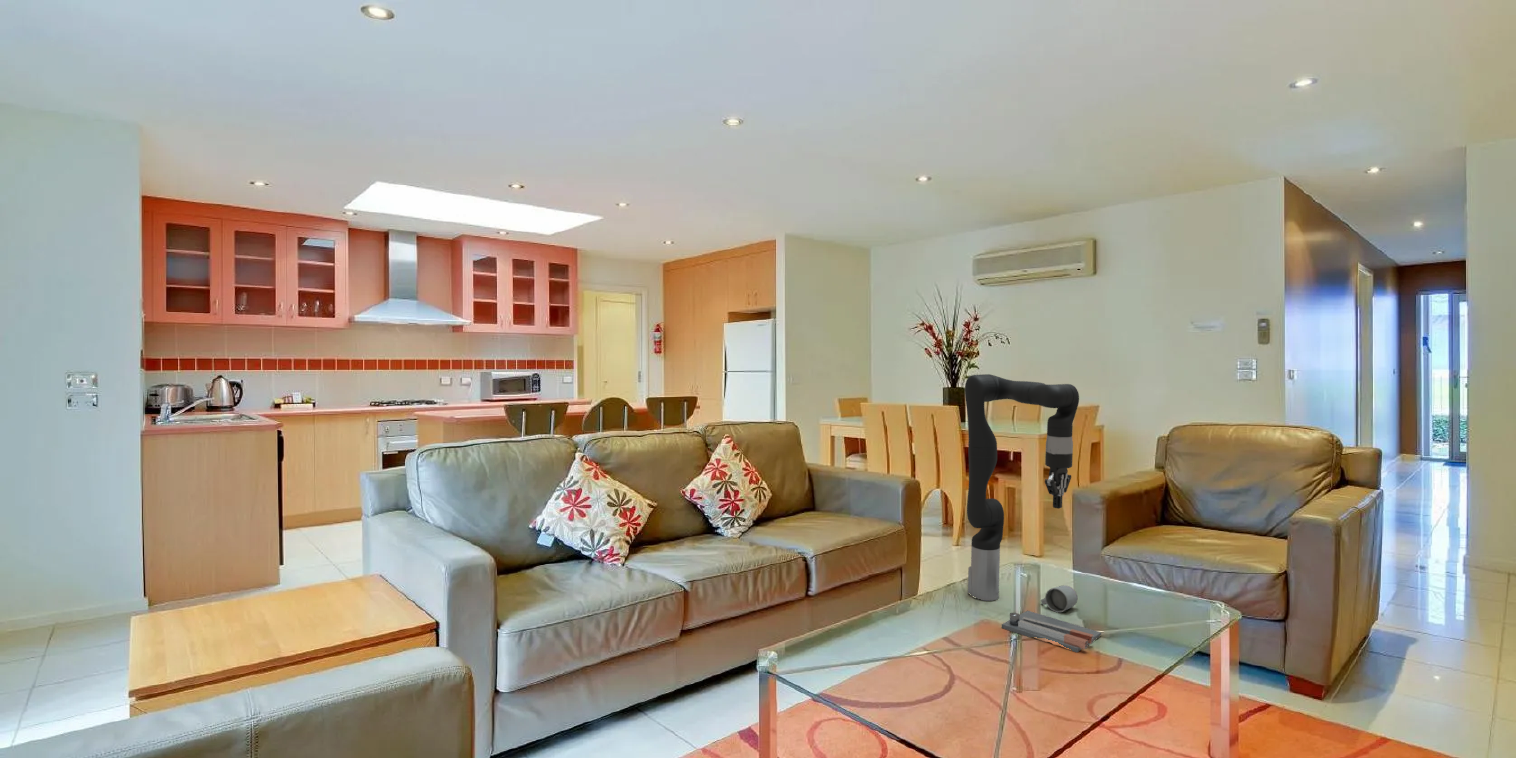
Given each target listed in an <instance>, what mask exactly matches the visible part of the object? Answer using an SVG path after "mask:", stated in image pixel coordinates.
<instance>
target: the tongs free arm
mask: <svg viewBox="0 0 1516 758" xmlns="http://www.w3.org/2000/svg"><path fill="white" fill-rule="evenodd" d="M1022 620H1023V621H1026V622H1029V623H1032V624H1036V625H1039V626H1042V627H1045V628H1049V629H1052V630H1055V631H1058V632H1061V633H1065V634H1069V635H1073V636H1076V637H1079V638H1082V639H1085V640H1088V643H1090V644H1089V645H1092V644H1093V643H1094V642H1093V637H1094V635H1093V634H1089V633H1085V632H1081V631H1077V630H1074V629H1069V628H1065V627H1061V626H1057V625H1053V624H1049V623H1046V622H1042V621H1038V620H1034V619H1030V618H1027V617H1023V618H1022Z"/></svg>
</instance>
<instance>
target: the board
mask: <svg viewBox="0 0 1516 758" xmlns="http://www.w3.org/2000/svg"><path fill="white" fill-rule="evenodd" d="M1019 615H1020V618H1019V621H1020V620H1022V618H1023V617H1027V618H1030V619H1034V620H1038V621H1042V622H1046V623H1049V624H1053V625H1057V626H1061V627H1065V628H1069V629H1074V630H1077V631H1081V632H1085V633H1089V634H1093V635H1094V637H1093V641H1094V640H1095V639H1096V638H1098V637H1099V636H1100V635H1101V636H1102V632H1101V631H1098V630H1094V629H1090V628H1087V627H1084V626H1080V625H1078V624H1074V623H1070V622H1067V621H1065V620H1061V619H1057V618H1053V617H1051V616H1047V615H1044V614H1041V613H1038V612H1037V613H1036V612H1035V611H1034V612H1033V611H1030V610H1026V611H1024V612H1022V613H1019ZM1001 629H1004V630H1007V631H1010V632H1012V633H1015V634H1016V633H1017V634H1019V635H1022V636H1025V637H1028V638H1031V637H1037V638H1046V639H1048V640H1052V641H1055V642H1058V643H1059V644H1061V645H1063V646H1064V647H1066V648H1069V649H1071V650H1072V651H1071V650H1070V651H1071V652H1075V653H1079V652H1080V651H1081V649H1082V648H1079V647H1076V646H1073V645H1070V644H1067V643H1064V642H1061V641H1058V640H1055V639H1051V638H1048V637H1045V636H1042V635H1039V634H1036V633H1033V632H1030V631H1026V630H1023V629H1020V628H1018V626H1013V625H1011V624H1010V619H1009V620H1006V621H1005V622H1003V623H1001ZM1099 638H1100V637H1099ZM1099 638H1098V639H1099ZM1096 640H1097V639H1096ZM1096 640H1095V641H1096ZM1095 641H1094V642H1095ZM1090 645H1091V644H1090V643H1088V646H1090ZM1082 650H1083V649H1082Z"/></svg>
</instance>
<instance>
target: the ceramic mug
mask: <svg viewBox="0 0 1516 758" xmlns="http://www.w3.org/2000/svg"><path fill="white" fill-rule="evenodd" d="M1044 596H1045V597H1044V598H1042V599H1041V598H1040V603H1041V605H1047V607H1048V608H1049V609H1050V610H1051V611H1052V612H1055V613H1063V612H1065V611H1067V610H1069V609H1071V608H1073V607H1075V606H1076V604H1077V603H1078V593H1077V591H1076V590H1075V589H1074V588H1073V587H1071V586H1070V585H1064V584H1063V585H1058V586H1056V587H1052V588H1049V589H1048V590H1047V591H1046V593H1045V595H1044Z"/></svg>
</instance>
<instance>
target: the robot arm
mask: <svg viewBox="0 0 1516 758" xmlns="http://www.w3.org/2000/svg"><path fill="white" fill-rule="evenodd" d="M964 397H965V405H966V407H965V408H966V413H967V414H966V415H967V429H968V430H967V432H968V433H967V434H968V448H967V449H968V490H967V492H968V493H967V502H966V503H967V504H966V516H967V521H968V523H969V525H970V526H972V527H973V528H975V529H979V531H978V532H977V533H976V534H974V535H973V536H972V537H971V548H970V549H971V550H970V552H971V553H970V554H971V557H970V560H971V562H970V566H969V567H968V573H967V576H968V577H967V594H968V593H970V594H971V595H972V596H974V597H976V598H978V599H977V600H979V599H981V600H980V601H986V602H991V601H996V600H998V599H999V597H1000V595H999V594H1000V566H1001V565H1000V563H1001V562H1000V561H1001V559H1000V556H1001V543H1002V540H1003V536H1004V524H1005V513H1004V512H1005V511H1004V507H1003V505H1002V503H1001V502H1000V501H999V500H998V499H997V498H987V487H988V484H989V480H990V478H991V476H992V475H993V472H994V470H995V468H996V465H997V462H998V443H997V442H998V441H997V438H996V436H995V433H994V432H993V430H992V429H991V426H990V425H989V423H988V421H987V418H986V409H985V403H988V402H993V401H998V400H1011V401H1015V402H1017V403H1021V404H1026V405H1034V406H1039V407H1040V406H1041V407H1042V408H1043V407H1044V408H1049V409H1056V412H1055V414H1054V415H1053V414H1052V415H1051V416H1049V417H1048V419H1047V424H1046V425H1047V426H1046V440H1045V454H1044V455H1045V456H1044V457H1045V461H1044V464H1045V466H1046V467H1048V468H1049V472H1048V478H1046V479H1045V480H1044V484H1045V487H1046V489H1047V492H1048V494H1049V495H1051V496H1052V507H1053V509H1062V508H1063V497H1064V494H1065V493H1067V491H1068V488H1069V485H1070V482H1071V480H1072V475H1071V474H1068V473H1069V472H1068V469H1070V468H1072V467H1073V455H1074V454H1073V451H1074V449H1073V448H1074V441H1073V425H1074V423H1073V422H1074V419H1075V417H1076V415H1077V410H1078V407H1079V402H1080V394H1079V390H1078V389H1077V388H1076V386H1075V385H1074V384H1070V383H1061V384H1047V383H1043V382H1037V381H1025V380H1010V379H1007V378H1002V377H1000V376H996V375H995V374H989V373H988V374H972V375H969V376H968V377H967V379H966V381H965V384H964ZM971 595H970V596H971ZM972 596H971V597H972ZM976 598H975V599H976Z"/></svg>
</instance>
